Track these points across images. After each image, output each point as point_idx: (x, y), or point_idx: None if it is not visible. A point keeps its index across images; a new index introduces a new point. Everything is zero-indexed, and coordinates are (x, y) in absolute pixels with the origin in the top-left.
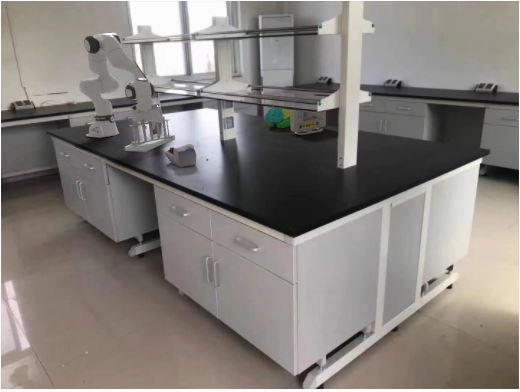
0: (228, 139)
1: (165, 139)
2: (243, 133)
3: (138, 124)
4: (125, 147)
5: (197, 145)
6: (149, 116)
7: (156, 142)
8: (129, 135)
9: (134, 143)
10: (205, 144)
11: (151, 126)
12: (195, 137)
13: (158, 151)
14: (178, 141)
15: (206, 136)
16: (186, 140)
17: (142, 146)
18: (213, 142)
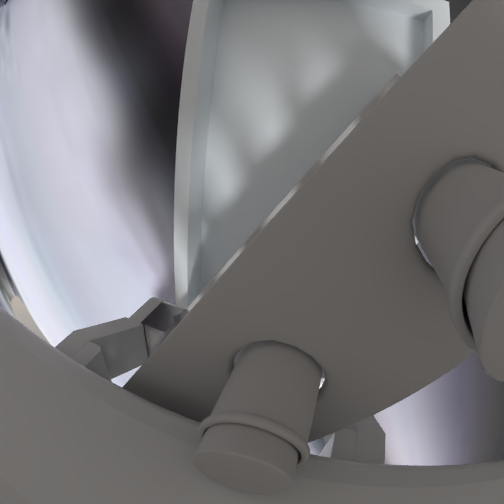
0: (8, 292)
1: (178, 302)
2: None
3: (390, 250)
4: (438, 2)
5: (20, 202)
6: (2, 445)
7: (176, 165)
8: (489, 451)
9: (397, 74)
10: (11, 221)
11: (156, 331)
12: None
13: (122, 27)
14: (131, 308)
15: None
16: (107, 320)
17: (332, 130)
18: (11, 254)
